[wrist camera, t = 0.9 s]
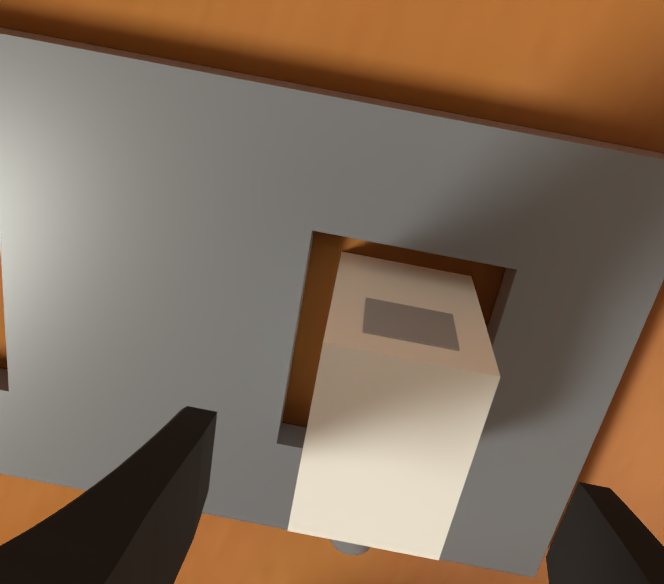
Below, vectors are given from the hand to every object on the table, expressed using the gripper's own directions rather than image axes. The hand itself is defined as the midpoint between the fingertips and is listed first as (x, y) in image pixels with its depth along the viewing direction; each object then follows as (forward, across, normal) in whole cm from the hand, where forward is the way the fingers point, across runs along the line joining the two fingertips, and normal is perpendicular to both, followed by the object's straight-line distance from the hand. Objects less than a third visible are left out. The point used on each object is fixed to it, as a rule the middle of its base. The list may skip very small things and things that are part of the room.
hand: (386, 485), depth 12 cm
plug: (+6, 0, 0) cm, 6 cm away
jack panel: (+6, +6, 0) cm, 8 cm away
